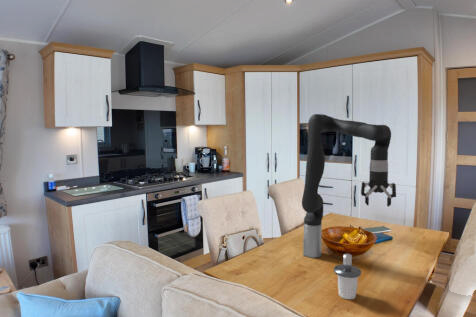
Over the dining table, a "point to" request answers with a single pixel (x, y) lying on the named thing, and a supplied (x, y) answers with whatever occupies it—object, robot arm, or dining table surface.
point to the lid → (347, 268)
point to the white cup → (347, 287)
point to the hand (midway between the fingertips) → (377, 205)
